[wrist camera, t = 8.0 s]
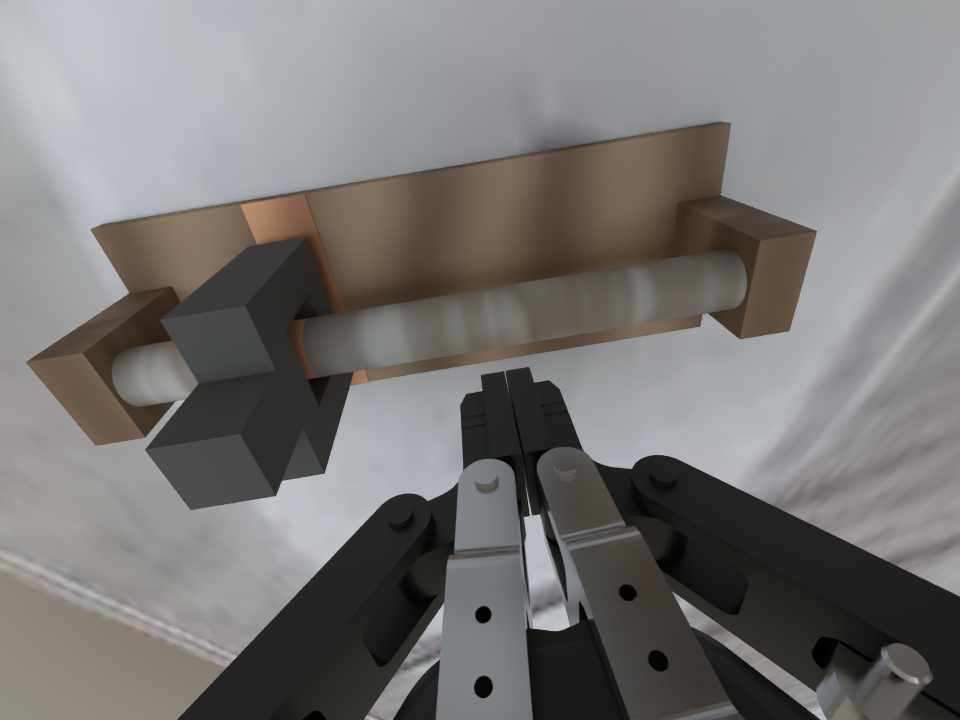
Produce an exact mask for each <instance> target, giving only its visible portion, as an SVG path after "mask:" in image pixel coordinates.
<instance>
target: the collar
mask: <svg viewBox="0 0 960 720" xmlns="http://www.w3.org/2000/svg"><path fill="white" fill-rule="evenodd" d="M330 314H333V311H332V308H331V305H330V302H329V300H328V297H327V294H326V291H325V288H324V286H323V283H322V280H321V277H320V274H319V272H318V269H317V266H316V263H315V260H314V258H313V255H312V252H311V249H310V246H309V244H308V241H307V238H306V237H301V238H295V239H289V240H283V241H277V242H271V243H265V244H259V245H253V246H248V247H247V248H246V249H244V250H243V251H242V252H241V253H240V254H238V255H237V256H236V257H235V258H234V259H232V260H231V261H230V262H229V263H228V264H226V265H225V266H224V267H223V268H222V269H220V270H219V271H218V272H217V273H216V274H214V275H213V276H212V277H211V278H210V279H208V280H207V281H206V282H205V283H204V284H202V285H201V286H200V287H199V288H198V289H196V290H195V291H194V292H193V293H192V294H190V295H189V296H188V297H187V298H186V299H184V300H183V301H182V302H181V303H180V304H178V305H177V306H176V307H175V308H174V309H172V310H171V311H170V312H169V313H168V314H166V315H165V316H164V317H163V318H162V319H160V321H161V322H162V324H163V326H164V327H165V329H166V331H167V332H168V334H169V336H170V337H171V339H172V341H173V342H174V344H175V346H176V347H177V349H178V351H179V352H180V354H181V356H182V357H183V359H184V361H185V362H186V364H187V366H188V367H189V369H190V371H191V372H192V374H193V376H194V377H195V379H196V381H197V382H198V385H197V386H196V387H195V389H194V390H193V391H192V392H191V394H190V395H189V396H188V397H187V399H186V400H185V401H184V402H183V403H182V405H181V406H180V407H179V408H178V410H177V411H176V412H175V413H174V415H173V416H172V417H171V418H170V420H169V421H168V422H167V423H166V425H165V426H164V427H163V428H162V429H161V431H160V432H159V433H158V434H157V436H156V437H155V438H154V439H153V441H152V442H151V443H150V444H149V446H148V447H147V448H146V449H145V450H146V452H147V453H148V454H149V456H150V457H151V458H152V460H153V461H154V462H155V464H156V465H157V466H158V468H159V469H160V470H161V472H162V473H163V474H164V475H165V477H166V478H167V479H168V481H169V482H170V483H171V485H172V486H173V487H174V489H175V490H176V491H177V493H178V494H179V495H180V497H181V498H182V499H183V501H184V502H185V503H186V504H187V506H188V507H189V508H190V510H193V509H199V508H205V507H211V506H218V505H224V504H230V503H236V502H242V501H248V500H254V499H260V498H266V497H272V496H276V494H277V492H278V489H279V487H280V484H281V482H282V481H283V480H289V479H295V478H301V477H307V476H313V475H319V474H325V470H326V467H327V463H328V460H329V456H330V453H331V450H332V446H333V443H334V439H335V436H336V432H337V429H338V425H339V422H340V419H341V415H342V412H343V408H344V405H345V401H346V398H347V394H348V391H349V387H350V384H351V381H352V377H353V374H354V372H348V373H342V374H336V375H330V376H324V377H318V378H312V379H307V377H306V375H305V373H304V370H303V368H302V366H301V363H300V361H299V359H298V356H297V354H296V352H295V349H294V347H293V345H292V342H291V340H290V338H289V336H288V333H287V329H288V327H289V326H290V324H291V323H292V321H294V320H300V319H306V318H312V317H318V316H324V315H330Z"/></svg>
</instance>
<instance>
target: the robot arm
mask: <svg viewBox="0 0 960 720" xmlns="http://www.w3.org/2000/svg"><path fill="white" fill-rule="evenodd" d="M506 377H507V383H506V379H505V374H504V371H503V372H496V373H490V374H484V375H481V380H482V388H483V391H481V392H475V393H469V394H466V396H465V398H464V400H463V401H462V403H461V405H460V410H461V428H462V449H463V472H462V473H461V475H460V478H459V481H458V483H457V484H456V485H455V486H454V487H453V488H452V489H451V490H449V491H448V492H446V493H444V494H443V495H440V496H438V497H436V498H434V499H432V500H429V501H427V500H426V499H425V498H423V497H422V496H419V495H417V494H401V495H398V496H395V497H393V498H391V499H389V500H388V501H386V502H385V503H384V504H382V505H381V506H380V507H379V508H378V509H377V510H376V512H375V513H374V514H373V515H372V516H371V517H370V518H369V519H368V520H367V521H366V522H365V523H364V524H363V525H362V526H361V527H360V528H359V529H358V530H357V532H356V533H355V534H354V535H353V536H352V537H351V538H350V539H349V540H348V541H347V542H346V543H345V544H344V545H343V546H342V547H341V548H340V549H339V550H338V551H337V553H336V554H335V555H334V556H333V557H332V558H331V559H330V560H329V561H328V562H327V563H326V564H325V565H324V566H323V567H322V568H321V569H320V570H319V571H318V572H317V574H316V575H315V576H314V577H313V578H312V579H311V580H310V581H309V582H308V583H307V584H306V585H305V586H304V587H303V588H302V589H301V590H300V591H299V592H298V593H297V595H296V596H295V597H294V598H293V599H292V600H291V601H290V602H289V603H288V604H287V605H286V606H285V607H284V608H283V609H282V610H281V611H280V612H279V613H278V614H277V616H276V617H275V618H274V619H273V620H272V621H271V622H270V623H269V624H268V625H267V626H266V627H265V628H264V629H263V630H262V631H261V632H260V633H259V634H258V635H257V637H256V638H255V639H254V640H253V641H252V642H251V643H250V644H249V645H248V646H247V647H246V648H245V649H244V650H243V651H242V652H241V653H240V654H239V655H238V656H237V658H236V659H235V660H234V661H233V662H232V663H231V664H230V665H229V666H228V667H227V668H226V669H225V670H224V671H223V672H222V673H221V674H220V675H219V677H218V678H217V679H216V680H215V681H214V682H213V683H212V684H211V685H210V686H209V687H208V688H207V689H206V690H205V691H204V692H203V693H202V694H201V695H200V696H199V697H198V699H197V700H196V701H195V702H194V703H193V704H192V705H191V706H190V707H189V708H188V709H187V710H186V711H185V712H184V713H183V714H182V715H181V716H180V717H179V718H178V720H364V718H365V717H366V715H367V714H368V712H369V711H370V709H371V708H372V707H373V705H374V704H375V702H376V701H377V699H378V698H379V696H380V695H381V693H382V692H383V691H384V689H385V688H386V686H387V685H388V683H389V682H390V680H391V679H392V677H393V676H394V675H395V673H396V672H397V670H398V669H399V667H400V666H401V664H402V663H403V661H404V660H405V659H406V657H407V656H408V654H409V653H410V651H411V650H412V648H413V647H414V646H415V644H416V643H417V641H418V640H419V638H420V637H421V635H422V634H423V632H424V631H425V630H426V628H427V627H428V625H429V624H430V622H431V621H432V619H433V618H434V616H435V615H436V614H437V612H438V611H439V609H440V608H441V606H442V605H443V603H444V613H443V627H442V641H441V654H440V660H439V661H438V662H436V663H435V664H434V665H433V666H431V667H430V668H429V669H428V670H427V671H426V673H425V674H424V675H423V676H422V677H421V678H420V679H419V680H418V682H417V683H416V684H415V686H414V687H413V688H412V690H411V691H410V693H409V694H408V696H407V697H406V699H405V701H404V702H403V704H402V706H401V707H400V709H399V711H398V712H397V714H396V715H395V717H394V719H393V720H820V719H819V718H818V717H816V716H815V715H814V714H812V713H811V712H810V711H808V710H807V709H806V708H805V707H803V706H802V705H801V704H799V703H798V702H797V701H796V700H794V699H793V698H792V697H790V696H789V695H788V694H786V693H785V692H784V691H783V690H781V689H780V688H779V687H777V686H776V685H775V684H773V683H772V682H771V681H770V680H768V679H767V678H766V677H764V676H763V675H762V674H761V673H759V672H758V671H757V670H755V669H754V668H753V667H751V666H750V665H749V664H748V663H746V662H745V661H744V660H742V659H741V658H740V657H738V656H737V655H736V654H735V653H733V652H732V651H731V650H729V649H728V648H727V647H725V646H724V645H723V644H721V643H720V642H718V641H717V640H715V639H713V638H712V637H710V636H709V635H707V634H705V633H703V632H701V631H699V630H697V629H695V628H693V627H690V625H689V623H688V621H687V619H686V617H685V615H684V614H683V612H682V610H681V608H680V606H679V604H678V602H677V600H676V599H675V597H674V595H673V593H672V591H673V592H674V593H676V594H677V595H678V596H680V597H681V598H683V599H684V600H686V601H687V602H688V603H690V604H691V605H693V606H694V607H695V608H697V609H698V610H700V611H701V612H703V613H704V614H705V615H707V616H708V617H710V618H711V619H713V620H714V621H715V622H717V623H718V624H720V625H721V626H722V627H724V628H725V629H727V630H728V631H730V632H731V633H732V634H734V635H735V636H737V637H738V638H740V639H741V640H742V641H744V642H745V643H747V644H748V645H749V646H751V647H752V648H754V649H755V650H757V651H758V652H759V653H761V654H762V655H764V656H765V657H767V658H768V659H769V660H771V661H772V662H774V663H775V664H776V665H778V666H779V667H781V668H782V669H784V670H785V671H786V672H788V673H789V674H791V675H792V676H793V677H795V678H796V679H798V680H799V681H801V682H802V683H803V684H805V685H806V686H808V687H809V688H811V689H812V690H813V691H815V692H816V693H817V698H818V701H819V705H820V707H821V709H822V711H823V713H824V715H825V717H826V718H827V720H960V597H959V596H957V595H955V594H953V593H951V592H949V591H947V590H945V589H943V588H941V587H939V586H937V585H935V584H933V583H931V582H929V581H927V580H924V579H922V578H920V577H918V576H916V575H914V574H912V573H910V572H908V571H906V570H904V569H902V568H900V567H898V566H896V565H894V564H892V563H890V562H887V561H885V560H883V559H881V558H879V557H877V556H875V555H873V554H871V553H869V552H867V551H865V550H863V549H861V548H859V547H857V546H855V545H853V544H850V543H848V542H846V541H844V540H842V539H840V538H838V537H836V536H834V535H832V534H830V533H828V532H826V531H824V530H822V529H820V528H818V527H816V526H813V525H811V524H809V523H807V522H805V521H803V520H801V519H799V518H797V517H795V516H793V515H791V514H789V513H787V512H785V511H783V510H781V509H779V508H776V507H774V506H772V505H770V504H768V503H766V502H764V501H762V500H760V499H758V498H756V497H754V496H752V495H750V494H748V493H746V492H744V491H742V490H739V489H737V488H735V487H733V486H731V485H729V484H727V483H725V482H723V481H721V480H719V479H717V478H715V477H713V476H711V475H709V474H707V473H705V472H702V471H700V470H698V469H696V468H694V467H692V466H690V465H688V464H686V463H684V462H682V461H680V460H678V459H675V458H672V457H669V456H664V455H652V456H647V457H644V458H642V459H640V460H639V461H638V462H636V463H635V465H634V466H633V468H632V469H625V468H615V467H609V466H605V465H602V464H599V463H597V462H595V461H594V460H592V459H591V457H590V456H589V455H588V454H586V453H585V452H584V451H583V449H582V446H581V444H580V441H579V439H578V436H577V433H576V431H575V428H574V426H573V423H572V420H571V418H570V415H569V413H568V410H567V407H566V405H565V403H564V399H563V397H562V394H561V392H560V389H559V388H557V387H556V386H555V385H554V384H553V383H552V382H550V381H549V380H548V381H542V382H536V383H534V381H533V378H532V374H531V371H530V368H529V367H526V368H520V369H514V370H508V371H506ZM507 384H508V388H507ZM508 391H509V393H508ZM525 483H526V485H525ZM526 488H527V492H526ZM527 493H528V497H529V502H530V507H531V512H532V515H538V514H540V515H541V519H542V524H543V529H544V538H545V543H546V546H547V550H548V553H549V556H550V559H551V562H552V566H553V569H554V572H555V575H556V579H557V582H558V585H559V588H560V591H561V595H562V598H563V601H564V604H565V608H566V611H567V615H568V619H569V624H570V627H568V628H566V629H564V630H561V631H547V630H539V629H533V622H532V613H531V602H530V591H529V580H528V570H527V559H526V548H525V539H526V530H525V523H524V517H527V516H530V514H529V507H528V499H527Z"/></svg>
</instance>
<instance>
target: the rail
mask: <svg viewBox="0 0 960 720" xmlns="http://www.w3.org/2000/svg"><path fill="white" fill-rule="evenodd" d="M730 127H731V123H726V122H717V123H711V124H705V125H699V126H693V127H687V128H681V129H675V130H669V131H663V132H657V133H651V134H645V135H639V136H633V137H627V138H621V139H615V140H609V141H603V142H597V143H591V144H585V145H579V146H573V147H567V148H561V149H555V150H549V151H543V152H537V153H531V154H524V155H518V156H512V157H506V158H500V159H494V160H488V161H482V162H476V163H470V164H464V165H458V166H452V167H446V168H440V169H434V170H428V171H422V172H416V173H410V174H404V175H398V176H392V177H386V178H380V179H374V180H368V181H362V182H356V183H350V184H344V185H338V186H332V187H326V188H320V189H313V190H307V191H301V192H295V193H289V194H283V195H277V196H271V197H265V198H259V199H253V200H247V201H241V202H235V203H229V204H223V205H217V206H211V207H205V208H199V209H193V210H187V211H181V212H175V213H169V214H163V215H157V216H151V217H145V218H139V219H133V220H127V221H121V222H115V223H109V224H103V225H100V226H98V227H95V228H93V229H90V230H91V231H92V233H93V234H94V236H95V238H96V239H97V241H98V242H99V244H100V246H101V247H102V249H103V251H104V252H105V254H106V255H107V257H108V259H109V260H110V262H111V263H112V265H113V267H114V268H115V270H116V272H117V273H118V275H119V276H120V278H121V280H122V281H123V283H124V284H125V286H126V288H127V289H128V291H129V294H128V295H126V296H125V297H123V298H122V299H120V300H119V301H117V302H116V303H114V304H113V305H111V306H110V307H108V308H107V309H105V310H104V311H102V312H101V313H99V314H98V315H96V316H95V317H93V318H92V319H90V320H89V321H87V322H86V323H84V324H83V325H81V326H80V327H78V328H77V329H75V330H74V331H72V332H71V333H69V334H68V335H66V336H65V337H63V338H62V339H60V340H59V341H57V342H56V343H54V344H53V345H51V346H50V347H48V348H47V349H45V350H44V351H42V352H41V353H39V354H38V355H36V356H35V357H33V358H32V359H30V360H29V361H27V362H26V363H27V364H28V365H29V366H30V368H31V369H32V370H33V371H34V372H35V374H36V375H37V376H38V377H39V378H40V380H41V381H42V382H43V383H44V384H45V386H46V387H47V388H48V389H49V390H50V392H51V393H52V394H53V395H54V396H55V398H56V399H57V400H58V401H59V402H60V404H61V405H62V406H63V407H64V408H65V410H66V411H67V412H68V413H69V414H70V416H71V417H72V418H73V419H74V420H75V422H76V423H77V424H78V425H79V426H80V427H81V429H82V430H83V431H84V432H85V433H86V435H87V436H88V437H89V438H90V439H91V441H92V442H93V443H94V444H95V445H96V446H97V445H103V444H109V443H115V442H121V441H127V440H133V439H139V438H145V437H146V436H147V435H148V434H149V432H150V431H151V430H152V429H153V428H154V426H155V425H156V424H157V423H158V422H159V420H160V419H161V418H162V417H163V416H164V414H165V413H166V412H167V411H168V410H169V408H170V407H171V406H172V405H173V404H174V402H175V401H179V400H185V399H187V397H188V396H189V395H190V394H191V392H192V391H193V390H194V389H195V387H196V386H197V385H198V382H197V381H196V379H195V377H194V376H193V374H192V372H191V371H190V369H189V367H188V366H187V364H186V362H185V361H184V359H183V357H182V356H181V354H180V352H179V351H178V349H177V347H176V346H175V344H174V342H173V341H172V339H171V337H170V336H169V334H168V332H167V331H166V329H165V327H164V326H163V324H162V322H161V321H160V319H162V318H163V317H164V316H165V315H166V314H168V313H169V312H170V311H171V310H172V309H174V308H175V307H176V306H177V305H178V304H180V303H181V302H182V301H183V300H184V299H186V298H187V297H188V296H189V295H190V294H192V293H193V292H194V291H195V290H196V289H198V288H199V287H200V286H201V285H202V284H204V283H205V282H206V281H207V280H208V279H210V278H211V277H212V276H213V275H214V274H216V273H217V272H218V271H219V270H220V269H222V268H223V267H224V266H225V265H226V264H228V263H229V262H230V261H231V260H232V259H234V258H235V257H236V256H237V255H238V254H240V253H241V252H242V251H243V250H244V249H246V248H247V247H248V246H253V245H259V244H265V243H271V242H277V241H283V240H289V239H295V238H301V237H306V238H307V241H308V244H309V246H310V249H311V252H312V255H313V258H314V260H315V263H316V266H317V269H318V272H319V274H320V277H321V280H322V283H323V286H324V288H325V291H326V294H327V297H328V300H329V302H330V305H331V308H332V311H333V314H330V315H324V316H318V317H312V318H306V319H300V320H294V321H292V323H291V324H290V326H289V327H288V329H287V333H288V336H289V338H290V340H291V342H292V345H293V347H294V349H295V352H296V354H297V356H298V359H299V361H300V363H301V366H302V368H303V370H304V373H305V375H306V377H307V379H312V378H318V377H324V376H330V375H336V374H342V373H348V372H354V374H353V377H352V381H351V384H350V385H355V384H361V383H367V382H369V381H374V380H380V379H386V378H392V377H398V376H404V375H410V374H416V373H422V372H428V371H434V370H440V369H446V368H452V367H458V366H464V365H470V364H476V363H482V362H488V361H494V360H500V359H507V358H513V357H519V356H525V355H531V354H537V353H543V352H549V351H555V350H561V349H567V348H573V347H579V346H585V345H591V344H597V343H603V342H609V341H615V340H621V339H627V338H633V337H640V336H646V335H652V334H658V333H664V332H670V331H676V330H682V329H688V328H694V327H700V326H701V320H702V314H705V313H708V314H710V315H711V316H712V317H713V318H715V319H716V320H717V321H718V322H719V323H721V324H722V325H723V326H724V327H725V328H727V329H728V330H729V331H730V332H732V333H733V334H734V335H735V336H736V337H738V338H739V339H744V338H750V337H756V336H762V335H768V334H774V333H780V332H787V331H790V327H791V323H792V320H793V316H794V313H795V309H796V305H797V302H798V298H799V295H800V291H801V287H802V284H803V280H804V277H805V273H806V269H807V266H808V262H809V258H810V255H811V251H812V248H813V244H814V240H815V237H816V233H817V231H815V230H812V229H810V228H807V227H804V226H802V225H799V224H796V223H794V222H791V221H788V220H785V219H783V218H780V217H777V216H775V215H772V214H769V213H767V212H764V211H761V210H758V209H756V208H753V207H750V206H748V205H745V204H742V203H740V202H737V201H734V200H732V199H729V198H726V197H723V196H721V195H720V193H721V187H722V180H723V173H724V167H725V160H726V153H727V147H728V140H729V134H730Z"/></svg>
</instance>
